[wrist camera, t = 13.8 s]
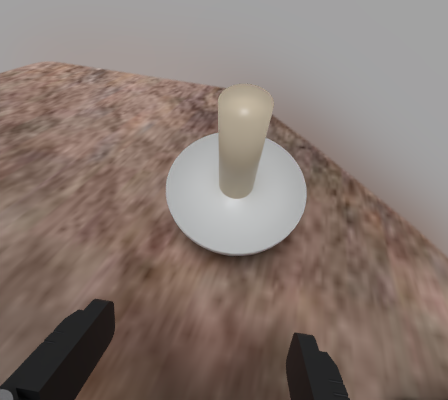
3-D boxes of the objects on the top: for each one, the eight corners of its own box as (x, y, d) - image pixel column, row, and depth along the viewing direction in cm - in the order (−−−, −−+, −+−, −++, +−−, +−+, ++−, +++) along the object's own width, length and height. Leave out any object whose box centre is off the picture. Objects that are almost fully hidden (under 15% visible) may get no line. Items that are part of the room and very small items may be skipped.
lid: (143, 227, 20) (80, 157, 11) (198, 125, 25) (186, 24, 16) (287, 278, 18) (353, 243, 9) (312, 156, 24) (368, 61, 15)
